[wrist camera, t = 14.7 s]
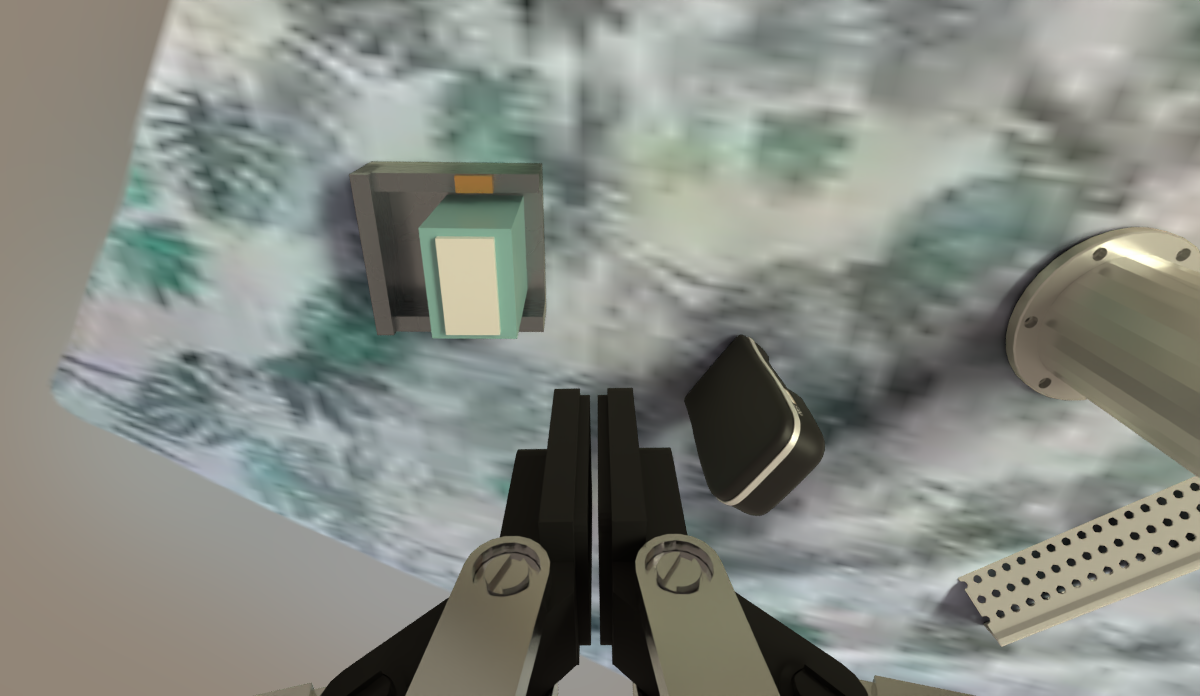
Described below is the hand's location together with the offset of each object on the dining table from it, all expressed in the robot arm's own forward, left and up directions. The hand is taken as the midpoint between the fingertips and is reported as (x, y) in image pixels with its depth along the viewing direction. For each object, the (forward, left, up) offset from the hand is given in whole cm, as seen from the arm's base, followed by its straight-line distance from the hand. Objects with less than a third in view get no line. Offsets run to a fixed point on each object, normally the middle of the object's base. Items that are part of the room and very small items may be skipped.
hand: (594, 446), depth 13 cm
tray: (+8, +3, -26) cm, 27 cm away
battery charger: (-10, +13, -26) cm, 31 cm away
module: (+6, +3, -25) cm, 26 cm away
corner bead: (-48, +29, -27) cm, 62 cm away
